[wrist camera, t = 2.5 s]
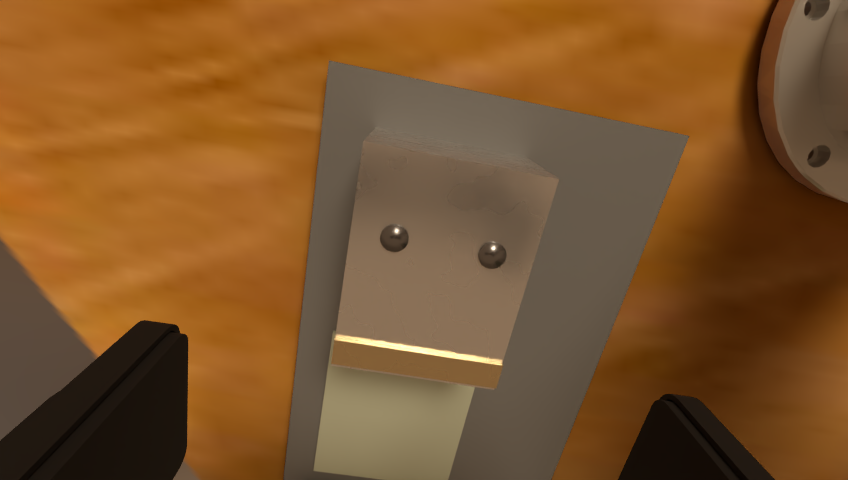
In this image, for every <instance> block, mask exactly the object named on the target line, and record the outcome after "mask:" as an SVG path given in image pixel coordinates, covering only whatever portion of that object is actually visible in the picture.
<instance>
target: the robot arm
mask: <svg viewBox="0 0 848 480" xmlns="http://www.w3.org/2000/svg"><path fill="white" fill-rule="evenodd" d="M757 88H758V105H759V116H760V119H761V123H762V126H763V130H764V134H765V137H766V141H767V142H768V144H769V146H770V148H771V150H772V151H773V153H774V155H775V157H776V158H777V160H778V162H779V163H780V164H781V165H782V167H783V168H784V169H785V170H786V171H787V172H788V173H789V174H790V175H791V176H792V177H793V178H794V179H795V180H796V181H798V182H799V183H801V184H803V185H804V186H806V187H807V188H809V189H811V190H812V191H814V192H816V193H818V194H821V195H824V196H827V197H831V198H834V199H837V200H840V201H843V202H847V203H848V0H779V1H778V3H777V6H776V8H775V10H774V12H773V14H772V17H771V20H770V23H769V27H768V30H767V33H766V37H765V40H764V44H763V47H762V50H761V58H760V66H759V74H758V81H757ZM187 398H188V337H187V335H185V334H180V331H179V328H178V326H177V325H174V324H167V323H160V322H153V321H146V320H144V321H140V322H139V323H137V324H136V325H135V326H134V327H132V328H131V329H130V330H129V331H128V332H127V333H126V334H124V335H123V336H122V337H121V338H120V339H119V340H118V341H117V342H115V343H114V344H113V345H112V346H111V347H110V348H109V349H107V350H106V351H105V352H104V353H103V354H102V355H101V356H99V357H98V358H97V359H96V360H95V361H94V362H93V363H91V364H90V365H89V366H88V367H87V368H86V369H85V370H84V371H82V372H81V373H80V374H79V375H78V376H77V377H76V378H74V379H73V380H72V381H71V382H70V383H69V384H68V385H66V386H65V387H64V388H63V389H62V390H61V391H59V392H57V393H56V394H55V395H53V396H52V397H50V398H49V399H48V400H46V401H45V402H44V403H43V404H42V405H41V406H40V407H38V408H37V409H36V410H35V411H34V412H33V413H32V414H30V415H29V416H28V417H27V418H26V419H25V420H23V421H22V422H21V423H20V424H19V425H18V426H17V427H15V428H14V429H13V430H12V431H11V432H10V433H9V434H8V435H6V436H5V437H4V438H3V439H2V440H1V441H0V480H173V478H174V476H175V475H176V473H177V471H178V469H179V468H180V466H181V464H182V462H183V459H184V456H185V453H186V448H187ZM618 480H775V479H774V478H773V477H772V476H771V475H770V474H769V473H768V472H767V471H766V470H765V469H764V468H763V467H762V466H761V464H760V463H759V462H758V461H757V460H756V459H755V458H754V457H753V456H752V455H751V454H750V453H749V452H748V451H747V450H746V449H745V447H744V446H743V445H742V444H741V443H740V442H739V441H738V440H737V439H736V438H735V437H734V436H733V435H732V434H731V433H730V432H729V431H728V429H727V428H726V427H725V426H724V425H723V424H722V423H721V422H720V421H719V420H718V419H717V418H716V417H715V416H714V415H713V414H712V412H711V411H710V410H709V409H708V408H707V407H706V406H705V405H704V404H703V403H702V402H701V401H700V400H698V399H697V398H694V397H688V396H681V395H674V394H665V395H663V396H662V397H661V398H660V399H659V400H657V401H655V402H654V403H653V405H652V407H651V409H650V411H649V413H648V415H647V418H646V420H645V422H644V424H643V426H642V428H641V431H640V433H639V435H638V437H637V439H636V442H635V444H634V446H633V448H632V450H631V452H630V455H629V457H628V459H627V461H626V463H625V465H624V468H623V470H622V472H621V474H620V476H619V479H618Z"/></svg>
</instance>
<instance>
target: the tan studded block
mask: <svg viewBox="0 0 848 480" xmlns="http://www.w3.org/2000/svg"><path fill="white" fill-rule="evenodd" d="M558 182H559V179H558V178H557V177H555V176H554V175H552V174H551V173H549V172H548V171H546V170H545V169H543V168H542V167H540V166H539V165H537V164H536V163H534V162H533V161H531V160H530V159H528V158H527V157H522V156H517V155H512V154H507V153H502V152H497V151H492V150H487V149H482V148H477V147H472V146H466V145H461V144H456V143H451V142H446V141H441V140H436V139H431V138H426V137H421V136H416V135H411V134H406V133H401V132H396V131H391V130H386V129H380V128H375V129H374V130H373V131H372V132H371V133H370V134H369V135H368V136H367V137H366V139H365V140H364V141H363V147H362V154H361V161H360V168H359V175H358V182H357V189H356V196H355V203H354V210H353V217H352V223H351V230H350V237H349V244H348V251H347V258H346V265H345V272H344V279H343V286H342V293H341V300H340V307H339V314H338V321H337V328H336V335H335V339H334V346H333V353H332V360H331V366H337V367H343V368H350V369H357V370H364V371H370V372H377V373H384V374H390V375H397V376H404V377H411V378H417V379H424V380H431V381H437V382H444V383H451V384H458V385H464V386H471V387H478V388H484V389H491V390H494V389H495V388H497V384H498V381H499V378H500V375H501V371H502V368H503V364H502V363H503V359H504V356H505V353H506V350H507V347H508V343H509V340H510V337H511V334H512V330H513V327H514V324H515V321H516V317H517V314H518V311H519V308H520V304H521V301H522V298H523V295H524V292H525V288H526V285H527V282H528V279H529V275H530V272H531V269H532V266H533V262H534V259H535V256H536V253H537V249H538V246H539V243H540V240H541V237H542V233H543V230H544V227H545V224H546V220H547V217H548V214H549V211H550V207H551V204H552V201H553V198H554V194H555V191H556V188H557V185H558Z"/></svg>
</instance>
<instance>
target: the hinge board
mask: <svg viewBox="0 0 848 480" xmlns="http://www.w3.org/2000/svg"><path fill="white" fill-rule="evenodd" d="M375 128H380V129H386V130H391V131H396V132H401V133H406V134H411V135H416V136H421V137H426V138H431V139H436V140H441V141H446V142H451V143H456V144H461V145H466V146H472V147H477V148H482V149H487V150H492V151H497V152H502V153H507V154H512V155H517V156H522V157H527V158H528V159H530V160H531V161H533V162H534V163H536V164H537V165H539V166H540V167H542V168H543V169H545V170H546V171H548V172H549V173H551V174H552V175H554V176H555V177H557V178H558V179H559V182H558V185H557V188H556V191H555V194H554V198H553V201H552V204H551V207H550V211H549V214H548V217H547V220H546V224H545V227H544V230H543V233H542V237H541V240H540V243H539V246H538V249H537V253H536V256H535V259H534V262H533V266H532V269H531V272H530V275H529V279H528V282H527V285H526V288H525V292H524V295H523V298H522V301H521V304H520V308H519V311H518V314H517V317H516V321H515V324H514V327H513V330H512V334H511V337H510V340H509V343H508V347H507V350H506V353H505V356H504V359H503V363H502V364H503V368H502V371H501V375H500V378H499V381H498V384H497V388H495V389H494V390H491V389H484V388H478V387H471V386H464V385H458V384H451V383H444V382H437V381H431V380H424V379H417V378H411V377H404V376H397V375H390V374H384V373H377V372H370V371H364V370H357V369H350V368H343V367H337V366H331V360H332V353H333V346H334V339H335V335H336V328H337V321H338V314H339V307H340V300H341V293H342V286H343V279H344V272H345V265H346V258H347V251H348V244H349V237H350V230H351V223H352V217H353V210H354V203H355V196H356V189H357V182H358V175H359V168H360V161H361V154H362V147H363V141H364V140H365V139H366V137H367V136H368V135H369V134H370V133H371V132H372V131H373V130H374V129H375ZM688 138H689V136H687V135H682V134H678V133H673V132H668V131H663V130H658V129H654V128H649V127H644V126H639V125H635V124H630V123H625V122H620V121H615V120H611V119H606V118H601V117H596V116H591V115H587V114H582V113H577V112H572V111H568V110H563V109H558V108H553V107H548V106H544V105H539V104H534V103H529V102H525V101H520V100H515V99H510V98H505V97H501V96H496V95H491V94H486V93H481V92H477V91H472V90H467V89H462V88H458V87H453V86H448V85H443V84H438V83H434V82H429V81H424V80H419V79H415V78H410V77H405V76H400V75H395V74H391V73H386V72H381V71H376V70H371V69H367V68H362V67H357V66H352V65H348V64H343V63H338V62H333V61H329V66H328V76H327V85H326V94H325V103H324V112H323V121H322V131H321V140H320V149H319V158H318V167H317V176H316V186H315V195H314V204H313V213H312V222H311V231H310V241H309V250H308V259H307V268H306V277H305V287H304V296H303V305H302V314H301V323H300V332H299V342H298V351H297V360H296V369H295V378H294V387H293V397H292V406H291V415H290V424H289V433H288V443H287V452H286V461H285V470H284V479H283V480H551V479H552V476H553V474H554V471H555V469H556V466H557V464H558V461H559V459H560V456H561V454H562V451H563V449H564V446H565V444H566V441H567V439H568V437H569V434H570V432H571V429H572V427H573V424H574V422H575V419H576V417H577V414H578V412H579V409H580V407H581V404H582V402H583V399H584V397H585V394H586V392H587V389H588V387H589V384H590V382H591V379H592V377H593V374H594V372H595V369H596V367H597V364H598V362H599V359H600V357H601V354H602V352H603V349H604V347H605V344H606V342H607V339H608V337H609V335H610V332H611V330H612V327H613V325H614V322H615V320H616V317H617V315H618V312H619V310H620V307H621V305H622V302H623V300H624V297H625V295H626V292H627V290H628V287H629V285H630V282H631V280H632V277H633V275H634V272H635V270H636V267H637V265H638V262H639V260H640V257H641V255H642V252H643V250H644V247H645V245H646V242H647V240H648V237H649V235H650V233H651V230H652V228H653V225H654V223H655V220H656V218H657V215H658V213H659V210H660V208H661V205H662V203H663V200H664V198H665V195H666V193H667V190H668V188H669V185H670V183H671V180H672V178H673V175H674V173H675V170H676V168H677V165H678V163H679V160H680V158H681V155H682V153H683V150H684V148H685V145H686V143H687V140H688Z"/></svg>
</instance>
